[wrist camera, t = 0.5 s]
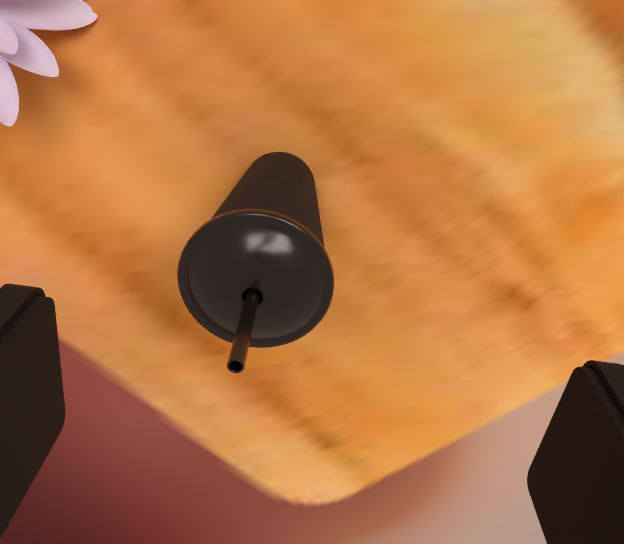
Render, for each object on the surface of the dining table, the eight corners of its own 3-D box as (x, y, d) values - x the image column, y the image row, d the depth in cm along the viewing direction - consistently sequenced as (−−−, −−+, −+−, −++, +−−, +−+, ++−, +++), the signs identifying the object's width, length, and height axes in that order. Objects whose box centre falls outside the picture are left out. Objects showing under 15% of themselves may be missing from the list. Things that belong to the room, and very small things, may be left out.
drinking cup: (272, 106, 38) (217, 242, 20) (358, 182, 40) (374, 363, 23) (202, 187, 41) (100, 368, 23) (285, 254, 43) (249, 465, 26)
